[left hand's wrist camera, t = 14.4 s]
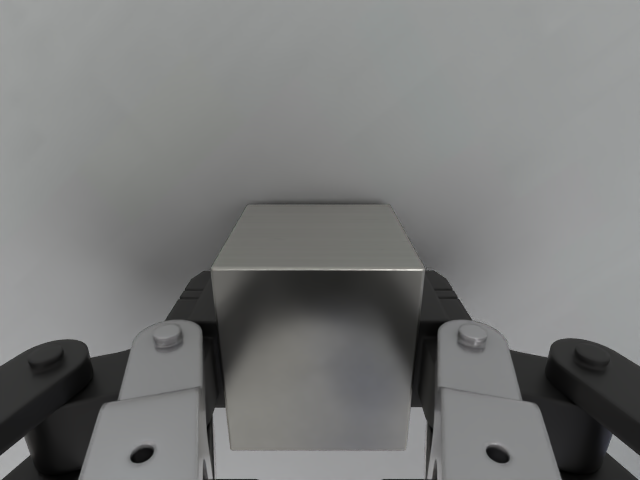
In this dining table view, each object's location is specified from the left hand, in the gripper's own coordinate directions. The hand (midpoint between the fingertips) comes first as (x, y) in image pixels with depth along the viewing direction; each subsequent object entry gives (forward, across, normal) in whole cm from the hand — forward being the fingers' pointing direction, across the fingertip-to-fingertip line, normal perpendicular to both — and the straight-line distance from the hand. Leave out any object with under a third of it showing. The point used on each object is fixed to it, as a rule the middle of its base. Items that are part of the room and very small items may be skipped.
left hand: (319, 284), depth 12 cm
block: (0, 0, 0) cm, 0 cm away
